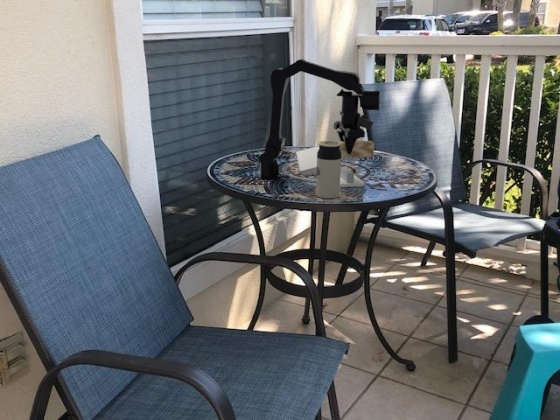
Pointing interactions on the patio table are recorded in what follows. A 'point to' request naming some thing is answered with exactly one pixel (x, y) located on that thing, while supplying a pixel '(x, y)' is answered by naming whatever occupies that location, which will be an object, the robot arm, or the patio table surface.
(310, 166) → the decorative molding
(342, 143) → the oak bar
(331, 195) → the travel mug
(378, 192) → the patio table surface
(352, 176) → the fulcrum stand
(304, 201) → the patio table surface
